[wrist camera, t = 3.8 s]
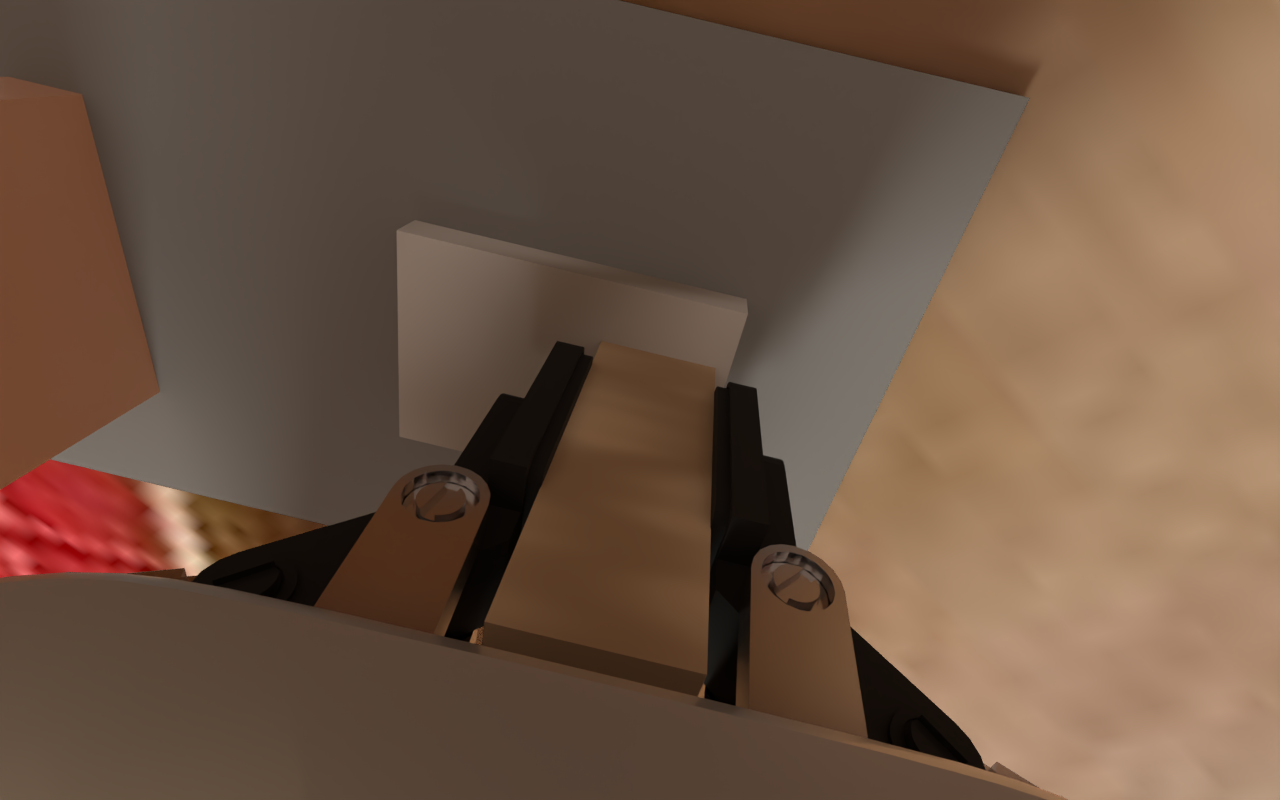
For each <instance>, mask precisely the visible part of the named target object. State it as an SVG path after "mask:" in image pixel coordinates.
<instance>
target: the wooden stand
mask: <svg viewBox="0 0 1280 800" xmlns="http://www.w3.org/2000/svg"><path fill="white" fill-rule="evenodd" d="M397 294H398V364H399V435H400V437H403V438H408V439H412V440H416V441H420V442H424V443H429V444H433V445H437V446H441V447H445V448H450V449H454V450H458V451H462V452H463V451H464V449H465V447H466V446H467V444H468V443H469V441H470V440H471V438H472V437H473V435H474V434H475V432H476V430H477V429H478V427H479V426H480V424H481V423H482V421H483V420H484V418H485V417H486V415H487V413H488V412H489V410H490V409H491V407H492V406H493V404H494V403H495V401H496V399H497V398H498V397H499V396H500V394H502V393H505V394H509V395H513V396H517V397H521V398H525V396H526V394H527V392H528V391H529V389H530V387H531V385H532V384H533V382H534V380H535V378H536V377H537V375H538V373H539V371H540V370H541V368H542V366H543V364H544V363H545V361H546V359H547V357H548V356H549V354H550V352H551V350H552V349H553V347H554V345H555V343H556V342H557V341H560V342H565V343H569V344H573V345H577V346H581V347H584V349H585V350H584V355H588V356H593V363H592V366H591V368H590V371H589V373H588V376H587V378H586V380H585V383H584V385H583V388H582V390H581V392H580V395H579V397H578V400H577V402H576V404H575V407H574V409H573V412H572V414H571V416H570V419H569V421H568V424H567V426H566V428H565V431H564V433H563V436H562V438H561V440H560V443H559V445H558V448H557V450H556V452H555V455H554V457H553V460H552V462H551V464H550V467H549V469H548V472H547V474H546V476H545V479H544V481H543V484H542V486H541V488H540V489H539V492H538V494H537V497H536V499H535V501H534V504H533V506H532V508H531V511H530V513H529V516H528V518H527V520H526V523H525V525H524V528H523V530H522V532H521V535H520V537H519V540H518V542H517V544H516V547H515V549H514V552H513V554H512V556H511V559H510V561H509V564H508V566H507V568H506V571H505V573H504V576H503V578H502V580H501V583H500V585H499V588H498V590H497V592H496V595H495V597H494V600H493V602H492V604H491V607H490V609H489V612H488V614H487V616H486V619H485V621H484V630H483V640H482V646H486V647H491V648H495V649H499V650H503V651H508V652H512V653H516V654H520V655H525V656H529V657H533V658H537V659H541V660H546V661H550V662H554V663H558V664H563V665H567V666H571V667H575V668H579V669H584V670H588V671H592V672H596V673H600V674H605V675H609V676H613V677H617V678H621V679H626V680H630V681H634V682H638V683H642V684H646V685H651V686H655V687H659V688H663V689H667V690H672V691H676V692H680V693H684V694H688V695H692V696H697V697H698V695H699V692H700V690H701V688H702V685H703V683H704V681H705V678H706V676H707V659H708V622H709V584H710V547H711V528H710V523H711V488H712V452H713V417H714V392H715V389H716V387H717V386H719V387H723V388H724V387H725V384H726V381H727V378H728V375H729V371H730V368H731V365H732V362H733V359H734V356H735V353H736V350H737V347H738V343H739V340H740V337H741V334H742V331H743V328H744V325H745V322H746V319H747V316H748V308H747V299H744V298H740V297H736V296H732V295H728V294H723V293H719V292H715V291H711V290H707V289H702V288H698V287H694V286H690V285H686V284H681V283H677V282H673V281H669V280H665V279H660V278H656V277H652V276H648V275H644V274H639V273H635V272H631V271H627V270H623V269H618V268H614V267H610V266H606V265H602V264H597V263H593V262H589V261H585V260H581V259H576V258H572V257H568V256H564V255H560V254H555V253H551V252H547V251H543V250H539V249H534V248H530V247H526V246H522V245H518V244H513V243H509V242H505V241H501V240H497V239H492V238H488V237H484V236H480V235H476V234H471V233H467V232H463V231H459V230H455V229H450V228H446V227H442V226H438V225H434V224H429V223H425V222H421V221H417V220H414V221H412V222H411V223H409V224H407V225H405V226H403V227H402V228H400V229H398V230H397Z"/></svg>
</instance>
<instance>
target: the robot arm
mask: <svg viewBox="0 0 1280 800" xmlns="http://www.w3.org/2000/svg"><path fill="white" fill-rule="evenodd" d="M584 350H585V349H584V347H581V346H577V345H573V344H569V343H565V342H560V341H557V342H556V343H555V345H554V347H553V349H552V350H551V352H550V354H549V356H548V357H547V359H546V361H545V363H544V364H543V366H542V368H541V370H540V371H539V373H538V375H537V377H536V378H535V380H534V382H533V384H532V385H531V387H530V389H529V391H528V392H527V394H526V396H525V398H521V397H517V396H513V395H509V394H505V393H502V394H500V396H499V397H498V398H497V399H496V401H495V403H494V404H493V406H492V407H491V409H490V410H489V412H488V413H487V415H486V417H485V418H484V420H483V421H482V423H481V424H480V426H479V427H478V429H477V430H476V432H475V434H474V435H473V437H472V438H471V440H470V441H469V443H468V444H467V446H466V447H465V449H464V451H463V452H462V454H461V455H460V457H459V458H458V460H457V461H456V463H455V464H454V465H444V464H441V465H430V466H425V467H422V468H418V469H415V470H413V471H411V472H409V473H407V474H406V475H404V476H402V477H401V478H400V479H399V480H398V481H397V482H396V483H395V484H394V485H393V487H392V488H391V490H390V491H389V493H388V494H387V496H386V497H385V499H384V501H383V502H382V504H381V505H380V507H379V508H378V510H377V511H376V512H374V513H370V514H367V515H364V516H360V517H357V518H353V519H350V520H347V521H343V522H340V523H337V524H333V525H330V526H326V527H323V528H320V529H316V530H313V531H309V532H306V533H303V534H299V535H296V536H292V537H289V538H286V539H282V540H279V541H275V542H272V543H269V544H265V545H262V546H258V547H255V548H252V549H248V550H245V551H242V552H238V553H236V554H233V555H231V556H228V557H226V558H223V559H220V560H218V561H217V562H215V563H214V564H212V565H211V566H209V567H207V568H206V569H204V570H203V571H201V572H200V573H199V575H198V576H187V575H186V572H185V569H184V568H181V569H170V570H159V571H149V572H138V573H127V574H125V573H81V572H65V573H51V574H37V575H22V576H10V577H4V578H0V800H1068V799H1066V798H1063V797H1061V796H1058V795H1056V794H1053V793H1050V792H1048V791H1045V790H1043V789H1040V788H1039V787H1037V786H1035V785H1034V784H1032V783H1030V782H1029V781H1027V780H1026V779H1024V778H1022V777H1021V776H1019V775H1018V774H1016V773H1014V772H1013V771H1011V770H1010V769H1008V768H1006V767H1005V766H1003V765H1001V764H1000V763H998V762H996V763H995V764H994V765H993V766H992V767H991V768H990V767H988V766H987V765H985V764H984V763H983V762H982V759H981V756H980V754H979V753H978V751H977V750H976V748H975V746H974V745H973V743H972V742H971V740H970V739H969V737H968V736H967V735H966V734H965V733H964V732H963V731H962V730H961V729H960V728H959V726H958V725H957V724H956V723H955V722H954V721H953V720H951V719H950V718H949V717H948V716H947V715H946V714H945V713H944V712H943V711H942V710H941V709H940V708H938V707H937V706H936V705H935V704H934V703H933V702H932V701H931V700H930V699H929V698H928V697H926V696H925V695H924V694H923V693H922V692H921V691H920V690H919V689H918V688H917V687H916V686H914V685H913V684H912V683H911V682H910V681H909V680H908V679H907V678H906V677H905V676H904V675H903V674H901V673H900V672H899V671H898V670H897V669H896V668H895V667H894V666H893V665H892V664H891V663H889V662H888V661H887V660H886V659H885V658H884V657H883V656H882V655H881V654H880V653H879V652H878V651H876V650H875V649H874V648H873V647H872V646H871V645H870V644H869V643H868V642H867V641H866V640H864V639H863V638H862V637H861V636H860V635H859V634H858V633H857V632H856V631H855V630H854V629H853V628H851V627H850V621H849V615H848V608H847V602H846V596H845V591H844V589H843V586H842V583H841V581H840V579H839V578H838V576H837V575H836V573H835V572H834V570H833V569H832V568H831V567H830V566H828V565H827V564H826V563H825V562H824V561H823V560H822V559H820V558H819V557H817V556H815V555H814V554H812V553H811V552H809V551H806V550H804V549H801V548H798V547H796V540H795V533H794V526H793V519H792V513H791V506H790V499H789V492H788V485H787V478H786V471H785V465H784V462H783V460H781V459H778V458H773V457H769V456H765V455H763V449H762V438H761V428H760V417H759V407H758V397H757V389H756V388H754V387H749V386H745V385H741V384H737V383H733V382H728V384H727V386H726V388H723V387H719V386H717V387H716V389H715V392H714V417H713V452H712V488H711V523H710V528H711V547H710V584H709V622H708V659H707V676H706V678H705V681H704V683H703V685H702V688H701V690H700V692H699V695H698V697H697V696H692V695H688V694H684V693H680V692H676V691H672V690H667V689H663V688H659V687H655V686H651V685H646V684H642V683H638V682H634V681H630V680H626V679H621V678H617V677H613V676H609V675H605V674H600V673H596V672H592V671H588V670H584V669H579V668H575V667H571V666H567V665H563V664H558V663H554V662H550V661H546V660H541V659H537V658H533V657H529V656H525V655H520V654H516V653H512V652H508V651H503V650H499V649H495V648H491V647H486V646H482V645H478V644H475V642H476V639H477V634H478V628H480V627H482V626H484V621H485V619H486V616H487V614H488V612H489V609H490V607H491V604H492V602H493V600H494V597H495V595H496V592H497V590H498V588H499V585H500V583H501V580H502V578H503V576H504V573H505V571H506V568H507V566H508V564H509V561H510V559H511V556H512V554H513V552H514V549H515V547H516V544H517V542H518V540H519V537H520V535H521V532H522V530H523V528H524V525H525V523H526V520H527V518H528V516H529V513H530V511H531V508H532V506H533V504H534V501H535V499H536V497H537V494H538V492H539V489H540V488H541V486H542V484H543V481H544V479H545V476H546V474H547V472H548V469H549V467H550V464H551V462H552V460H553V457H554V455H555V452H556V450H557V448H558V445H559V443H560V440H561V438H562V436H563V433H564V431H565V428H566V426H567V424H568V421H569V419H570V416H571V414H572V412H573V409H574V407H575V404H576V402H577V400H578V397H579V395H580V392H581V390H582V388H583V385H584V383H585V380H586V378H587V376H588V373H589V371H590V368H591V366H592V363H593V356H588V355H584Z"/></svg>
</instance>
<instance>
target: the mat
mask: <svg viewBox="0 0 1280 800" xmlns="http://www.w3.org/2000/svg"><path fill="white" fill-rule="evenodd" d="M0 77H12V78H16V79H20V80H25V81H29V82H33V83H37V84H41V85H46V86H50V87H54V88H58V89H62V90H67V91H71V92H75V93H79V94H82V96H83V100H84V103H85V107H86V111H87V115H88V119H89V122H90V126H91V130H92V134H93V138H94V142H95V145H96V149H97V153H98V157H99V161H100V164H101V168H102V172H103V176H104V180H105V184H106V187H107V191H108V195H109V199H110V203H111V206H112V210H113V214H114V218H115V222H116V226H117V229H118V233H119V237H120V241H121V245H122V248H123V252H124V256H125V260H126V264H127V268H128V271H129V275H130V279H131V283H132V287H133V290H134V294H135V298H136V302H137V306H138V309H139V313H140V317H141V321H142V325H143V329H144V332H145V336H146V340H147V344H148V348H149V351H150V355H151V359H152V363H153V367H154V371H155V374H156V378H157V382H158V386H159V390H160V392H159V393H158V394H156V395H154V396H153V397H151V398H149V399H148V400H146V401H144V402H143V403H141V404H140V405H138V406H136V407H135V408H133V409H131V410H130V411H128V412H126V413H125V414H123V415H122V416H120V417H118V418H117V419H115V420H113V421H112V422H110V423H108V424H107V425H105V426H104V427H102V428H100V429H99V430H97V431H95V432H94V433H92V434H90V435H89V436H87V437H85V438H84V439H82V440H81V441H79V442H77V443H76V444H74V445H72V446H71V447H69V448H67V449H66V450H64V451H63V452H61V453H59V454H58V455H56V456H54V457H53V458H51V460H55V461H60V462H64V463H68V464H72V465H76V466H81V467H85V468H89V469H93V470H97V471H102V472H106V473H110V474H114V475H118V476H123V477H127V478H131V479H135V480H139V481H144V482H148V483H152V484H156V485H160V486H165V487H169V488H173V489H177V490H181V491H186V492H190V493H194V494H198V495H203V496H207V497H211V498H215V499H219V500H224V501H228V502H232V503H236V504H240V505H245V506H249V507H253V508H257V509H261V510H266V511H270V512H274V513H278V514H282V515H287V516H291V517H295V518H299V519H303V520H308V521H312V522H316V523H320V524H324V525H329V526H330V525H333V524H337V523H340V522H343V521H347V520H350V519H353V518H357V517H360V516H364V515H367V514H370V513H374V512H376V511H377V510H378V508H379V507H380V505H381V504H382V502H383V501H384V499H385V497H386V496H387V494H388V493H389V491H390V490H391V488H392V487H393V485H394V484H395V483H396V482H397V481H398V480H399V479H400V478H401V477H402V476H404V475H406V474H407V473H409V472H411V471H413V470H415V469H418V468H422V467H425V466H430V465H441V464H444V465H454V464H455V463H456V461H457V460H458V458H459V457H460V455H461V454H462V451H458V450H454V449H450V448H445V447H441V446H437V445H433V444H429V443H424V442H420V441H416V440H412V439H408V438H403V437H400V435H399V364H398V294H397V230H398V229H400V228H402V227H403V226H405V225H407V224H409V223H411V222H412V221H414V220H417V221H421V222H425V223H429V224H434V225H438V226H442V227H446V228H450V229H455V230H459V231H463V232H467V233H471V234H476V235H480V236H484V237H488V238H492V239H497V240H501V241H505V242H509V243H513V244H518V245H522V246H526V247H530V248H534V249H539V250H543V251H547V252H551V253H555V254H560V255H564V256H568V257H572V258H576V259H581V260H585V261H589V262H593V263H597V264H602V265H606V266H610V267H614V268H618V269H623V270H627V271H631V272H635V273H639V274H644V275H648V276H652V277H656V278H660V279H665V280H669V281H673V282H677V283H681V284H686V285H690V286H694V287H698V288H702V289H707V290H711V291H715V292H719V293H723V294H728V295H732V296H736V297H740V298H744V299H747V308H748V316H747V319H746V322H745V325H744V328H743V331H742V334H741V337H740V340H739V343H738V347H737V350H736V353H735V356H734V359H733V362H732V365H731V368H730V371H729V375H728V378H727V381H726V384H725V387H724V388H726V386H727V384H728V382H733V383H737V384H741V385H745V386H749V387H754V388H756V389H757V397H758V407H759V417H760V428H761V438H762V449H763V455H765V456H769V457H773V458H778V459H781V460H783V462H784V465H785V471H786V478H787V485H788V492H789V499H790V506H791V513H792V519H793V526H794V533H795V540H796V547H798V548H801V549H804V550H806V551H808V549H809V547H810V545H811V543H812V541H813V539H814V537H815V535H816V533H817V531H818V529H819V527H820V525H821V523H822V520H823V518H824V516H825V514H826V512H827V510H828V508H829V506H830V504H831V502H832V500H833V498H834V496H835V494H836V492H837V490H838V488H839V486H840V484H841V482H842V480H843V478H844V476H845V474H846V472H847V470H848V468H849V466H850V463H851V461H852V459H853V457H854V455H855V453H856V451H857V449H858V447H859V445H860V443H861V441H862V439H863V437H864V435H865V433H866V431H867V429H868V427H869V425H870V423H871V421H872V419H873V417H874V415H875V413H876V411H877V408H878V406H879V404H880V402H881V400H882V398H883V396H884V394H885V392H886V390H887V388H888V386H889V384H890V382H891V380H892V378H893V376H894V374H895V372H896V370H897V368H898V366H899V364H900V362H901V360H902V358H903V356H904V353H905V351H906V349H907V347H908V345H909V343H910V341H911V339H912V337H913V335H914V333H915V331H916V329H917V327H918V325H919V323H920V321H921V319H922V317H923V315H924V313H925V311H926V309H927V307H928V305H929V303H930V301H931V299H932V296H933V294H934V292H935V290H936V288H937V286H938V284H939V282H940V280H941V278H942V276H943V274H944V272H945V270H946V268H947V266H948V264H949V262H950V260H951V258H952V256H953V254H954V252H955V250H956V248H957V246H958V244H959V241H960V239H961V237H962V235H963V233H964V231H965V229H966V227H967V225H968V223H969V221H970V219H971V217H972V215H973V213H974V211H975V209H976V207H977V205H978V203H979V201H980V199H981V197H982V195H983V193H984V191H985V189H986V186H987V184H988V182H989V180H990V178H991V176H992V174H993V172H994V170H995V168H996V166H997V164H998V162H999V160H1000V158H1001V156H1002V154H1003V152H1004V150H1005V148H1006V146H1007V144H1008V142H1009V140H1010V138H1011V136H1012V134H1013V131H1014V129H1015V127H1016V125H1017V123H1018V121H1019V119H1020V117H1021V115H1022V113H1023V111H1024V109H1025V107H1026V105H1027V103H1028V101H1029V99H1030V98H1028V97H1024V96H1019V95H1015V94H1011V93H1007V92H1003V91H998V90H994V89H990V88H986V87H981V86H977V85H973V84H969V83H965V82H960V81H956V80H952V79H948V78H944V77H939V76H935V75H931V74H927V73H923V72H918V71H914V70H910V69H906V68H902V67H897V66H893V65H889V64H885V63H881V62H876V61H872V60H868V59H864V58H860V57H855V56H851V55H847V54H843V53H839V52H834V51H830V50H826V49H822V48H818V47H813V46H809V45H805V44H801V43H797V42H792V41H788V40H784V39H780V38H776V37H771V36H767V35H763V34H759V33H755V32H750V31H746V30H742V29H738V28H734V27H729V26H725V25H721V24H717V23H713V22H708V21H704V20H700V19H696V18H692V17H687V16H683V15H679V14H675V13H671V12H666V11H662V10H658V9H654V8H650V7H645V6H641V5H637V4H633V3H629V2H624V1H620V0H0Z"/></svg>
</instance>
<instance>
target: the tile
mask: <svg viewBox="0 0 1280 800" xmlns="http://www.w3.org/2000/svg"><path fill="white" fill-rule="evenodd" d="M159 392H160V390H159V386H158V382H157V378H156V374H155V371H154V367H153V363H152V359H151V355H150V351H149V348H148V344H147V340H146V336H145V332H144V329H143V325H142V321H141V317H140V313H139V309H138V306H137V302H136V298H135V294H134V290H133V287H132V283H131V279H130V275H129V271H128V268H127V264H126V260H125V256H124V252H123V248H122V245H121V241H120V237H119V233H118V229H117V226H116V222H115V218H114V214H113V210H112V206H111V203H110V199H109V195H108V191H107V187H106V184H105V180H104V176H103V172H102V168H101V164H100V161H99V157H98V153H97V149H96V145H95V142H94V138H93V134H92V130H91V126H90V122H89V119H88V115H87V111H86V107H85V103H84V100H83V96H82V94H79V93H75V92H71V91H67V90H62V89H58V88H54V87H50V86H46V85H41V84H37V83H33V82H29V81H25V80H20V79H16V78H12V77H0V489H2V488H4V487H5V486H7V485H9V484H10V483H12V482H13V481H15V480H17V479H18V478H20V477H22V476H23V475H25V474H27V473H28V472H30V471H31V470H33V469H35V468H36V467H38V466H40V465H41V464H43V463H45V462H46V461H48V460H49V459H51V458H53V457H54V456H56V455H58V454H59V453H61V452H63V451H64V450H66V449H67V448H69V447H71V446H72V445H74V444H76V443H77V442H79V441H81V440H82V439H84V438H85V437H87V436H89V435H90V434H92V433H94V432H95V431H97V430H99V429H100V428H102V427H104V426H105V425H107V424H108V423H110V422H112V421H113V420H115V419H117V418H118V417H120V416H122V415H123V414H125V413H126V412H128V411H130V410H131V409H133V408H135V407H136V406H138V405H140V404H141V403H143V402H144V401H146V400H148V399H149V398H151V397H153V396H154V395H156V394H158V393H159Z"/></svg>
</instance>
